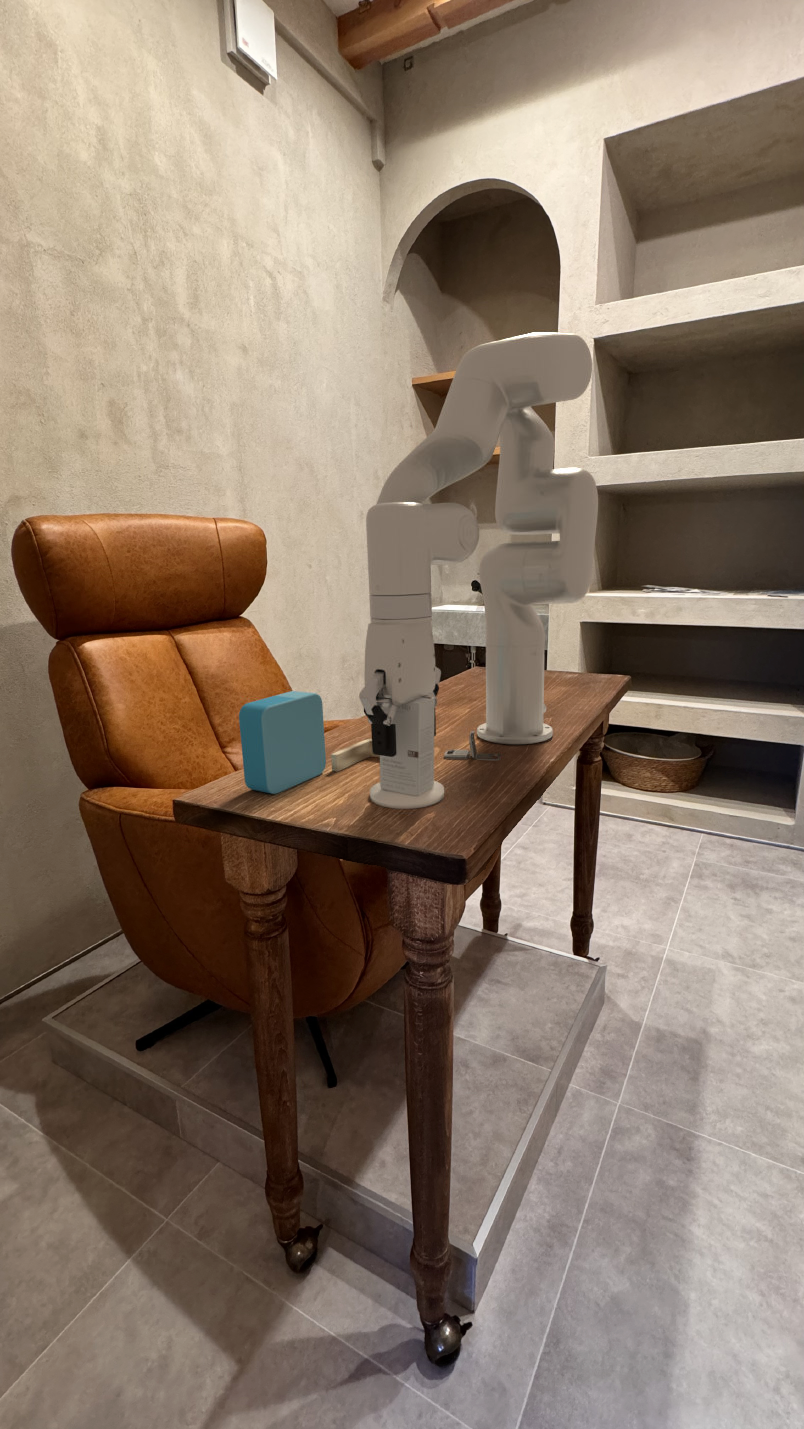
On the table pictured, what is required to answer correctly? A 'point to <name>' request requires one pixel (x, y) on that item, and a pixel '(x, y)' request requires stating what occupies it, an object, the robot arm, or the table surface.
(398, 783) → the skincare box
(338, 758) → the stand
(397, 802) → the ceramic coaster
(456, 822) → the table surface
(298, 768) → the data package
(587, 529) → the robot arm
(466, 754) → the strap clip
